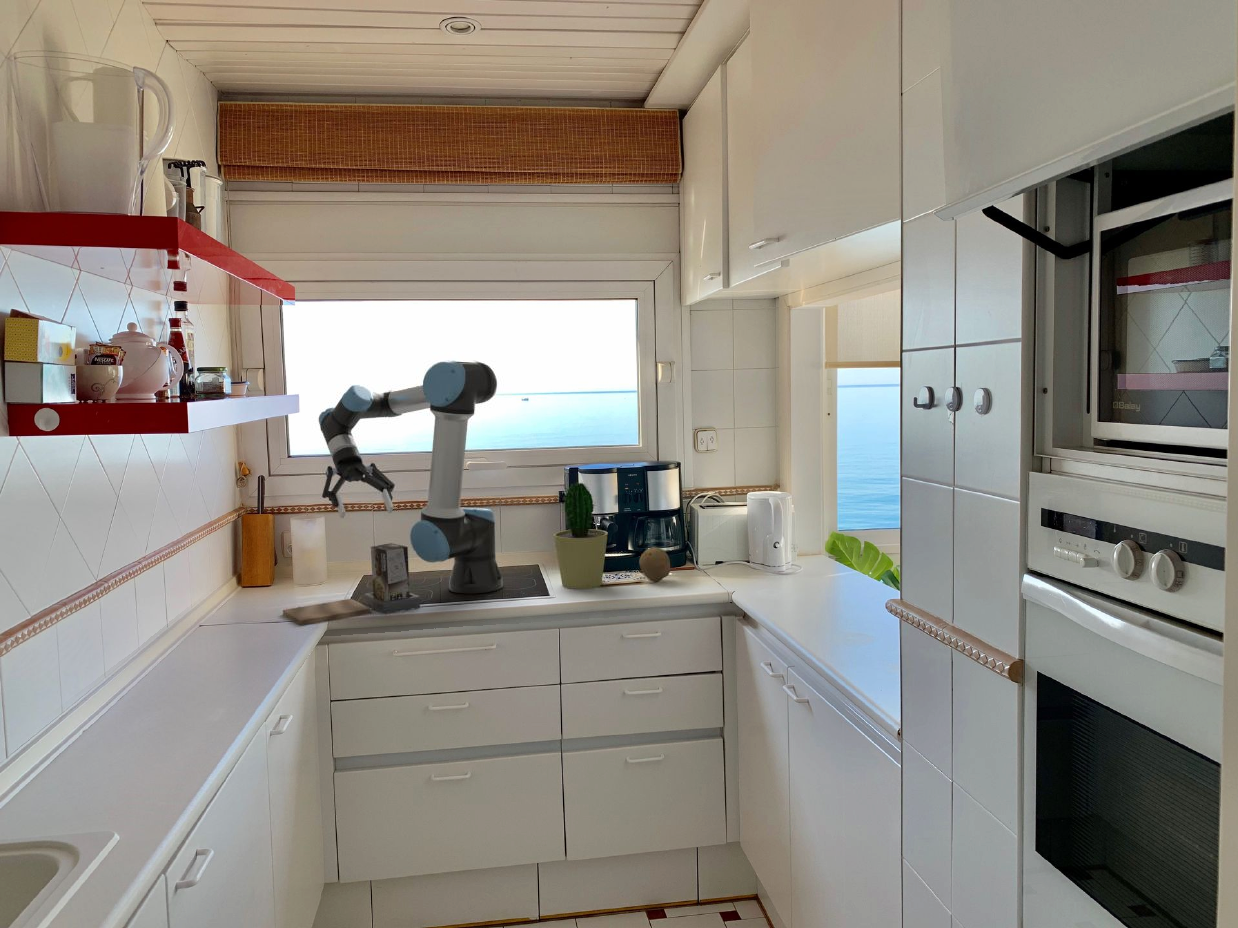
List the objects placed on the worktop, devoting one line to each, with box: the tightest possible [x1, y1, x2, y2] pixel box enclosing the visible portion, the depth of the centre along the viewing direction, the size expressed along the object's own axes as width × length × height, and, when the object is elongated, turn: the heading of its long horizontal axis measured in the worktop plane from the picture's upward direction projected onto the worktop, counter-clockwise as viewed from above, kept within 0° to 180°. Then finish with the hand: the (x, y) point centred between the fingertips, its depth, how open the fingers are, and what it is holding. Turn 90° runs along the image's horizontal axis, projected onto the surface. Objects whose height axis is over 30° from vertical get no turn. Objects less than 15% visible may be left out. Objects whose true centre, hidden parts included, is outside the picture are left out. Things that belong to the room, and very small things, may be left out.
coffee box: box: [370, 542, 411, 601], centre depth 243 cm, size 9×6×16 cm
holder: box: [363, 591, 421, 615], centre depth 244 cm, size 10×13×3 cm
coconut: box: [638, 546, 671, 583], centre depth 266 cm, size 9×9×10 cm
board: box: [282, 598, 372, 626], centre depth 237 cm, size 18×14×1 cm
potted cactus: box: [553, 481, 609, 590], centre depth 263 cm, size 15×15×30 cm
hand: (367, 512), depth 252 cm, fingers open, 13 cm apart
